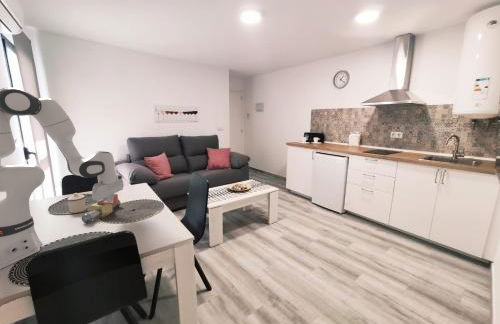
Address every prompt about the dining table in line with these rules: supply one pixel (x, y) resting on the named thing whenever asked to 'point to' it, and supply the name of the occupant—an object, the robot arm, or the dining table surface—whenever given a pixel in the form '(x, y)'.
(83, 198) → the teacup with lid
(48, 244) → the dining table surface
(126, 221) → the dining table surface
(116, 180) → the robot arm
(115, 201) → the valve lever
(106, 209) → the valve pipe
